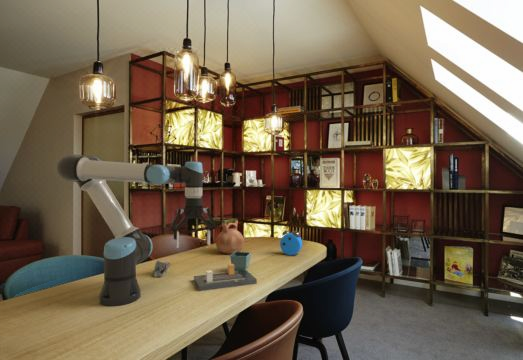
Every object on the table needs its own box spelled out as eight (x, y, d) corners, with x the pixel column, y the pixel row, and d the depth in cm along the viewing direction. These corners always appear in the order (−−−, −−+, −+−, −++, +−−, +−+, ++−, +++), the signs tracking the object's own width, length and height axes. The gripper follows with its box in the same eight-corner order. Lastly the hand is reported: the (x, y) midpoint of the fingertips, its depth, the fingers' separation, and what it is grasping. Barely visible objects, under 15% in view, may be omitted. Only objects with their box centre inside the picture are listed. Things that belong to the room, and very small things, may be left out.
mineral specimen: (155, 284, 160) (173, 280, 158) (146, 277, 154) (165, 272, 152) (158, 267, 167) (176, 262, 165) (150, 259, 161) (167, 254, 159)
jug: (229, 248, 219) (228, 218, 219) (249, 251, 208) (249, 221, 208) (209, 253, 204) (209, 222, 204) (231, 257, 193) (231, 224, 193)
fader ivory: (206, 282, 140) (206, 272, 140) (205, 280, 143) (205, 270, 143) (212, 282, 141) (212, 272, 141) (211, 279, 144) (211, 270, 144)
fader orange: (229, 275, 151) (229, 265, 151) (227, 273, 154) (227, 264, 154) (234, 274, 152) (234, 265, 152) (232, 272, 155) (232, 263, 155)
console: (199, 290, 136) (199, 284, 136) (193, 280, 150) (193, 274, 150) (256, 283, 146) (256, 277, 146) (246, 274, 160) (246, 269, 160)
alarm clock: (302, 254, 200) (302, 230, 200) (299, 256, 194) (299, 232, 194) (283, 252, 205) (283, 229, 205) (279, 254, 200) (279, 230, 200)
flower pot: (246, 274, 160) (246, 256, 160) (229, 273, 162) (229, 255, 161) (251, 269, 168) (250, 252, 168) (234, 268, 170) (234, 251, 170)
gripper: (164, 198, 131) (164, 249, 131) (223, 197, 141) (223, 245, 141) (163, 197, 138) (162, 246, 138) (219, 196, 148) (218, 242, 148)
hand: (193, 246), depth 140 cm, fingers open, 13 cm apart
